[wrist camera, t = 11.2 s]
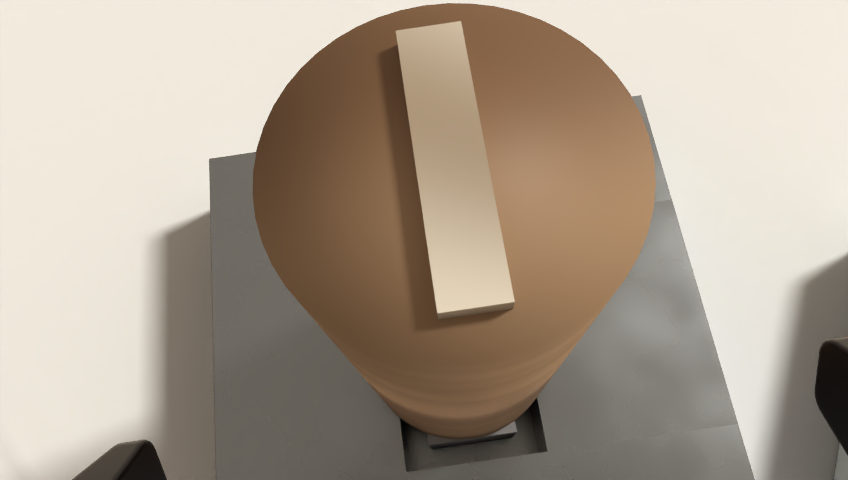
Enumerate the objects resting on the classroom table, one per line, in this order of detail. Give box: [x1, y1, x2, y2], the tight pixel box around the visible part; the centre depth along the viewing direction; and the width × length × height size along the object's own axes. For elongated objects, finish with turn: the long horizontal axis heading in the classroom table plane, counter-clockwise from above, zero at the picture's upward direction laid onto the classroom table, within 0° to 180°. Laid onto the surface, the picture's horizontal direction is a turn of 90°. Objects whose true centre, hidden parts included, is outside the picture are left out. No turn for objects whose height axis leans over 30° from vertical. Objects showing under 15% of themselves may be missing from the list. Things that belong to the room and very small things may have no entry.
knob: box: [253, 3, 656, 449], centre depth 15 cm, size 5×5×13 cm
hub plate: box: [209, 95, 754, 480], centre depth 20 cm, size 14×14×3 cm
